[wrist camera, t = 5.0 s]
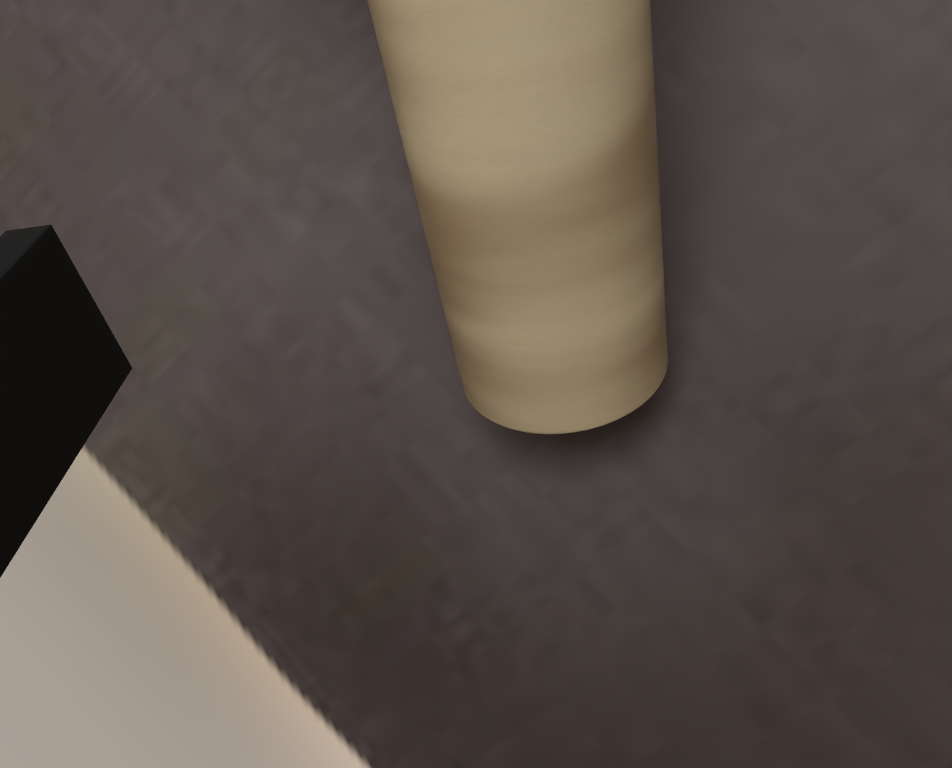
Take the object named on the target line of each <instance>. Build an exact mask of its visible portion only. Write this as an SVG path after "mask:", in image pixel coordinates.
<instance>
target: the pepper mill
mask: <svg viewBox="0 0 952 768" xmlns="http://www.w3.org/2000/svg"><path fill="white" fill-rule="evenodd" d="M367 1H368V5H369V9H370V13H371V17H372V22H373V26H374V30H375V34H376V38H377V42H378V46H379V50H380V54H381V58H382V62H383V66H384V70H385V74H386V78H387V82H388V87H389V91H390V95H391V99H392V103H393V107H394V111H395V115H396V119H397V123H398V127H399V131H400V135H401V139H402V143H403V147H404V152H405V156H406V160H407V164H408V168H409V172H410V176H411V180H412V184H413V188H414V192H415V196H416V200H417V204H418V208H419V212H420V217H421V221H422V225H423V229H424V233H425V237H426V241H427V245H428V249H429V253H430V257H431V261H432V265H433V269H434V273H435V277H436V282H437V286H438V290H439V294H440V298H441V302H442V306H443V310H444V314H445V318H446V322H447V326H448V330H449V334H450V338H451V342H452V347H453V351H454V355H455V359H456V363H457V367H458V371H459V375H460V379H461V383H462V387H463V390H464V393H465V395H466V397H467V399H468V400H469V402H470V404H471V405H472V406H473V407H474V408H475V409H476V410H477V411H478V412H479V413H480V414H482V415H483V416H484V417H486V418H487V419H489V420H491V421H493V422H494V423H496V424H499V425H501V426H504V427H506V428H510V429H514V430H517V431H522V432H528V433H537V434H564V433H572V432H579V431H584V430H589V429H593V428H596V427H599V426H603V425H606V424H608V423H611V422H613V421H616V420H618V419H620V418H622V417H624V416H626V415H627V414H629V413H631V412H632V411H634V410H635V409H637V408H638V407H640V406H641V405H642V404H644V403H645V402H646V401H647V400H648V399H649V398H650V397H651V396H652V395H653V394H654V393H655V391H656V390H657V389H658V387H659V386H660V384H661V383H662V381H663V379H664V376H665V374H666V371H667V366H668V346H667V326H666V306H665V286H664V266H663V246H662V226H661V206H660V186H659V166H658V146H657V126H656V106H655V86H654V66H653V46H652V26H651V6H650V0H367Z"/></svg>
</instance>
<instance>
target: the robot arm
mask: <svg viewBox="0 0 952 768" xmlns="http://www.w3.org/2000/svg"><path fill="white" fill-rule="evenodd" d="M131 369H132V367H131V365H130V363H129V362H128V360H127V358H126V356H125V354H124V353H123V351H122V349H121V347H120V346H119V344H118V342H117V340H116V339H115V337H114V335H113V333H112V331H111V330H110V328H109V326H108V324H107V323H106V321H105V319H104V317H103V316H102V314H101V312H100V310H99V308H98V307H97V305H96V303H95V301H94V300H93V298H92V296H91V294H90V293H89V291H88V289H87V287H86V285H85V284H84V282H83V280H82V278H81V277H80V275H79V273H78V271H77V270H76V268H75V266H74V264H73V262H72V261H71V259H70V257H69V255H68V254H67V252H66V250H65V248H64V247H63V245H62V243H61V241H60V239H59V238H58V236H57V234H56V232H55V231H54V229H53V227H52V225H46V226H39V227H31V228H24V229H17V230H10V231H6V232H5V233H4V234H2V235H1V236H0V577H1V575H2V574H3V572H4V571H5V569H6V567H7V566H8V564H9V563H10V561H11V560H12V558H13V556H14V555H15V553H16V552H17V550H18V549H19V547H20V545H21V544H22V542H23V541H24V539H25V537H26V536H27V534H28V532H29V531H30V529H31V528H32V526H33V525H34V523H35V522H36V520H37V518H38V517H39V515H40V514H41V512H42V510H43V509H44V507H45V506H46V504H47V502H48V501H49V499H50V497H51V496H52V495H53V493H54V491H55V490H56V488H57V487H58V485H59V483H60V482H61V480H62V479H63V477H64V475H65V474H66V472H67V470H68V469H69V468H70V466H71V464H72V463H73V461H74V460H75V458H76V456H77V455H78V453H79V452H80V450H81V448H82V447H83V445H84V444H85V442H86V441H87V439H88V437H89V436H90V434H91V433H92V431H93V429H94V428H95V426H96V425H97V423H98V421H99V420H100V418H101V417H102V415H103V414H104V412H105V410H106V409H107V407H108V406H109V404H110V402H111V401H112V399H113V398H114V396H115V394H116V393H117V391H118V390H119V388H120V386H121V385H122V383H123V382H124V380H125V379H126V377H127V375H128V374H129V372H130V371H131Z"/></svg>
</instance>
